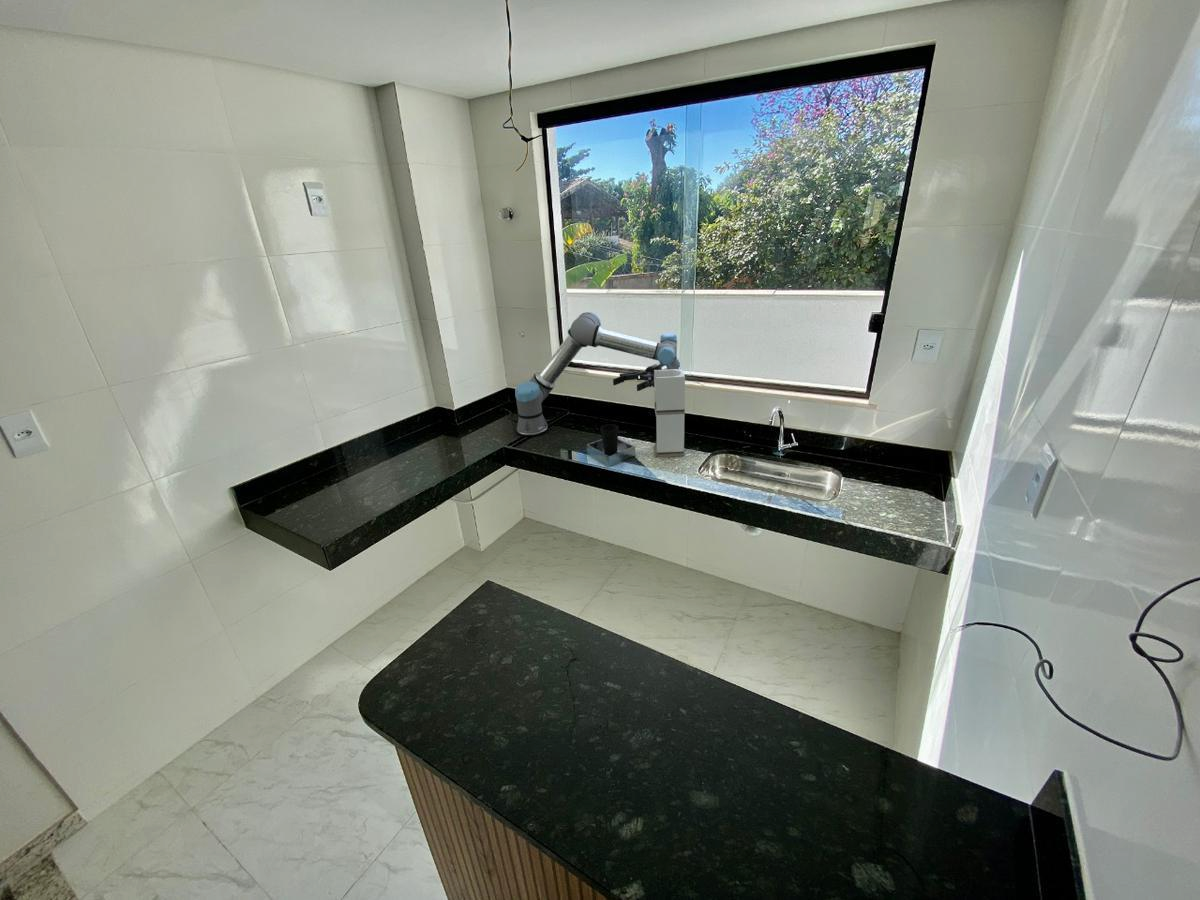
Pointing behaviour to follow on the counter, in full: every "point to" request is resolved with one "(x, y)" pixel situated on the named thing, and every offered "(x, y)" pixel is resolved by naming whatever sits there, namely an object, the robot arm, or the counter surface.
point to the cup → (610, 438)
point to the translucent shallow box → (622, 454)
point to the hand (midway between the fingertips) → (625, 385)
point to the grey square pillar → (669, 412)
